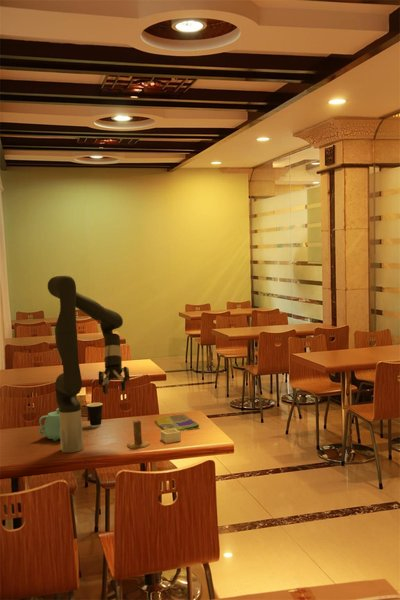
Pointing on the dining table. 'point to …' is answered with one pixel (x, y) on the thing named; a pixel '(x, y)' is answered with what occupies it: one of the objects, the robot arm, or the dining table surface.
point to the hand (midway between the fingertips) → (114, 392)
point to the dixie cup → (95, 414)
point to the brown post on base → (137, 437)
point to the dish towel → (176, 423)
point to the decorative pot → (51, 425)
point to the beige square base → (170, 435)
